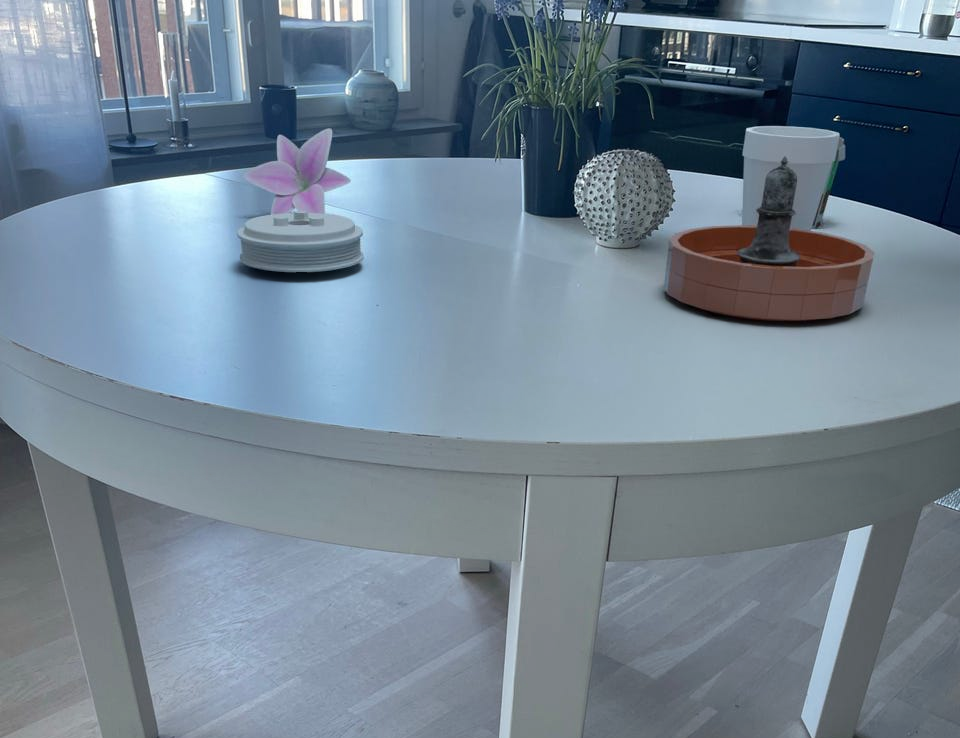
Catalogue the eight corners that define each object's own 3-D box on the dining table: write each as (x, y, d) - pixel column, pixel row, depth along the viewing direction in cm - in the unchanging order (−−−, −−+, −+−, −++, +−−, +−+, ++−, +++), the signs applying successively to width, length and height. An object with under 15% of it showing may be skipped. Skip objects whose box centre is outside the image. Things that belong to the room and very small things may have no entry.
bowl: (865, 287, 103) (877, 235, 100) (856, 336, 88) (869, 277, 85) (683, 269, 108) (689, 219, 105) (646, 312, 93) (652, 255, 90)
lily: (240, 224, 128) (226, 157, 120) (302, 175, 133) (293, 107, 124) (311, 267, 125) (302, 201, 116) (373, 216, 130) (368, 149, 121)
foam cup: (760, 276, 106) (783, 138, 99) (709, 257, 113) (727, 127, 106) (832, 269, 109) (859, 136, 102) (778, 251, 116) (800, 125, 109)
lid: (215, 272, 103) (209, 219, 100) (287, 248, 112) (283, 200, 110) (321, 288, 98) (317, 233, 95) (386, 262, 108) (385, 211, 105)
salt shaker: (778, 284, 101) (801, 151, 94) (804, 300, 96) (830, 161, 89) (722, 286, 100) (741, 151, 93) (745, 301, 95) (767, 161, 88)
